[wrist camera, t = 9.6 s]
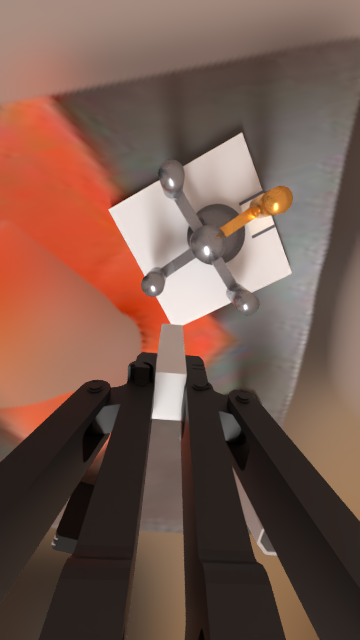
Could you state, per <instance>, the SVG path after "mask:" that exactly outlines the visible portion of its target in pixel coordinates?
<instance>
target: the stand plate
mask: <svg viewBox="0 0 360 640" xmlns="http://www.w3.org/2000/svg"><path fill="white" fill-rule="evenodd" d="M183 168H184V172H185V177H184V186H183V192H184V194H185V196H186V198H187V199H188V201H189V203H190V204H191V206H192V208H193V209H194V211H195V213H197V212H198V211H199V210H201V209H202V208H204V207H206V206H208V205H211V204H224V205H227V206H229V207H231V208H233V209H234V210H235V211H237V212H238V214H240V213H242V212H243V211H245V210H246V209H248V208H249V205H250V202H251V201H252V200H253V199H254V198H256V197H258V196H259V195H261V194H263V190H262V188H261V185H260V182H259V179H258V176H257V173H256V171H255V168H254V165H253V162H252V159H251V156H250V154H249V151H248V148H247V145H246V142H245V140H244V137H243V134H242V133H240V134H238V135H237V136H235V137H233V138H231V139H230V140H228V141H226V142H225V143H223V144H221V145H219V146H218V147H216V148H214V149H212V150H211V151H209V152H207V153H205V154H204V155H202V156H200V157H199V158H197V159H195V160H193V161H192V162H190V163H188V164H186V165H185V166H183ZM109 212H110V214H111V215H112V217H113V219H114V221H115V223H116V224H117V226H118V228H119V230H120V232H121V234H122V235H123V237H124V239H125V241H126V243H127V244H128V246H129V248H130V250H131V252H132V254H133V255H134V257H135V259H136V261H137V263H138V264H139V266H140V268H141V270H142V272H143V274H144V275H145V276H146V275H147V273H148V272H149V271H150V270H151V269H152V268H154V267H160V268H161V267H163V266H164V265H166V264H167V263H169V262H170V261H172V260H173V259H175V258H176V257H177V256H179V255H180V254H182V253H183V252H185V251H186V250H188V249H189V245H188V242H187V230H188V226H189V225H188V223H187V221H186V220H185V218H184V216H183V215H182V213H181V211H180V210H179V208H178V206H177V205H176V203H175V201H174V200H173V199H170V198H168V197H166V196H165V194H164V192H163V189H162V186H161V183H160V180H159V181H157V182H155V183H154V184H152V185H150V186H148V187H147V188H145V189H143V190H141V191H140V192H138V193H136V194H134V195H133V196H131V197H129V198H128V199H126V200H124V201H122V202H121V203H119V204H117V205H115V206H114V207H112V208H110V209H109ZM244 226H245V240H244V244H243V246H242V248H241V250H240V252H239V253H238V254H237V255H236V256H235V257H234V258H233V259H232V260H230V261H229V262H227V263H225V264H226V266H227V267H228V269H229V271H230V272H231V274H232V276H233V278H234V279H235V281H236V283H238V284H241V285H242V286H243V287H245V288H246V289H247V290H249V291H250V292H251V293H252V292H254V291H256V290H258V289H260V288H262V287H265V286H267V285H269V284H271V283H273V282H275V281H277V280H279V279H281V278H283V277H286V276H288V275H290V274H292V272H291V270H290V267H289V264H288V261H287V258H286V255H285V253H284V250H283V247H282V244H281V241H280V239H279V236H278V233H277V230H276V227H275V224H274V222H273V219H272V216H268V217H263V218H254V219H253V220H251V221H250V222H248V223H247V224H245V225H244ZM226 290H227V287H226V286H225V284H224V282H223V281H222V279H221V277H220V276H219V274H218V273H217V271H216V269H215V268H214V266H213V265H209V264H206V263H203V262H201V261H200V260H198V259H197V258H195V259H193V260H192V261H190V262H189V263H187V264H186V265H184V266H183V267H181V268H180V269H178V270H177V271H175V272H174V273H172V274H171V275H169V276H168V277H167V278H166V282H165V286H164V289H163V292H162V293H161V294H160V295H158V296H156V297H157V299H158V301H159V303H160V304H161V306H162V308H163V310H164V312H165V314H166V315H167V317H168V319H169V321H170V323H171V324H174V325H185V324H187V323H189V322H191V321H193V320H195V319H198V318H200V317H202V316H204V315H206V314H208V313H210V312H212V311H214V310H216V309H218V308H221V307H223V306H225V305H227V304H229V303H231V301H230V300H229V299H228V297H227V295H226Z"/></svg>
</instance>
